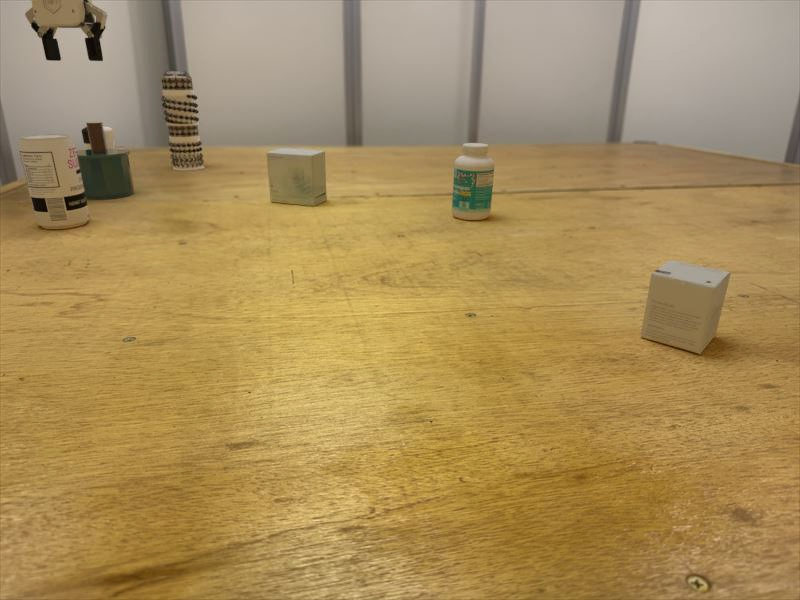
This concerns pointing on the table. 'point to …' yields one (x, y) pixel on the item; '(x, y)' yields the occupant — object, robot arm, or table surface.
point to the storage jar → (106, 177)
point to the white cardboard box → (684, 305)
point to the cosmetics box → (297, 176)
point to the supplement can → (54, 180)
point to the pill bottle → (473, 183)
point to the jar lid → (99, 144)
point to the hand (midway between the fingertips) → (74, 60)
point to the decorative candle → (182, 120)
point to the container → (108, 137)
